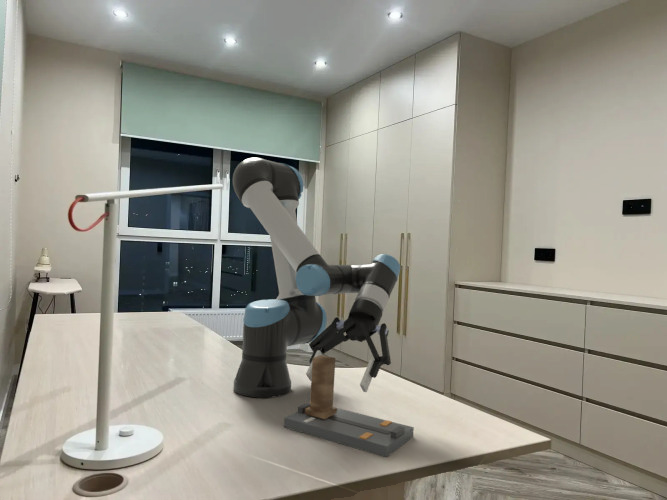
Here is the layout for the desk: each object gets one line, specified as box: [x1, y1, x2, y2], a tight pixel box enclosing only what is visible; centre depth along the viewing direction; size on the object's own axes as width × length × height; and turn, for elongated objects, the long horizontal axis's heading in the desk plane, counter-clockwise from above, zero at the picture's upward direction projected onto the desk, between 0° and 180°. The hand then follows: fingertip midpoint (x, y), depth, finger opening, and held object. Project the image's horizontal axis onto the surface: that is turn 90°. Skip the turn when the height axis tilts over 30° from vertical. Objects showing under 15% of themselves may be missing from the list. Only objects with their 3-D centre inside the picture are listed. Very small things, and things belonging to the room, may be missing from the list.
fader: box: [305, 354, 338, 419], centre depth 111 cm, size 5×5×12 cm
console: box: [283, 402, 415, 458], centre depth 107 cm, size 24×13×3 cm, turn 59°
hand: (335, 383), depth 111 cm, fingers open, 13 cm apart
